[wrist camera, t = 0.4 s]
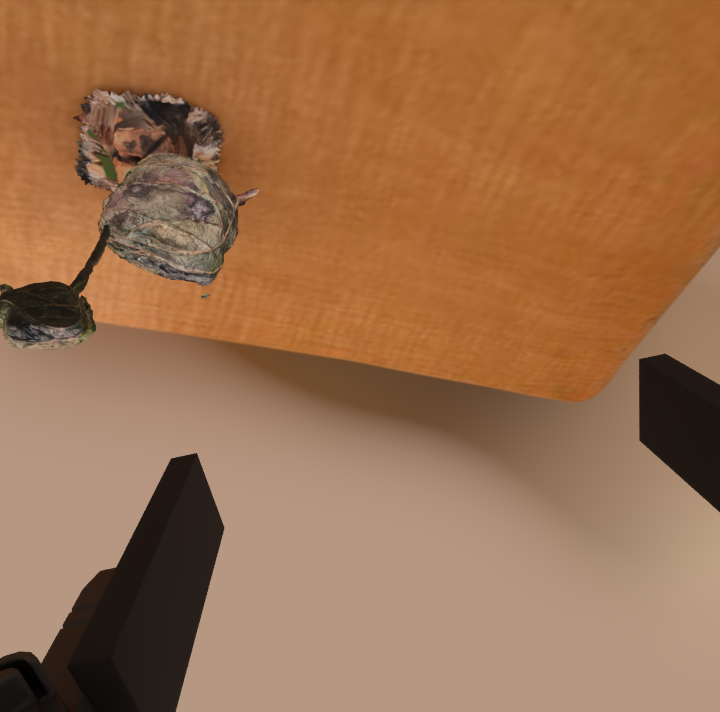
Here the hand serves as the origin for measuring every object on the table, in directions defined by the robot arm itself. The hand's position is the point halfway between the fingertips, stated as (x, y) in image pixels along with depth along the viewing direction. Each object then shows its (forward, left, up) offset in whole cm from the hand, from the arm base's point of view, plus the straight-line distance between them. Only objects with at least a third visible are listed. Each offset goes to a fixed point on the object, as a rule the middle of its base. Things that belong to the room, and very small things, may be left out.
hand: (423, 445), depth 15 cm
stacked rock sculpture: (+3, -10, -27) cm, 29 cm away
